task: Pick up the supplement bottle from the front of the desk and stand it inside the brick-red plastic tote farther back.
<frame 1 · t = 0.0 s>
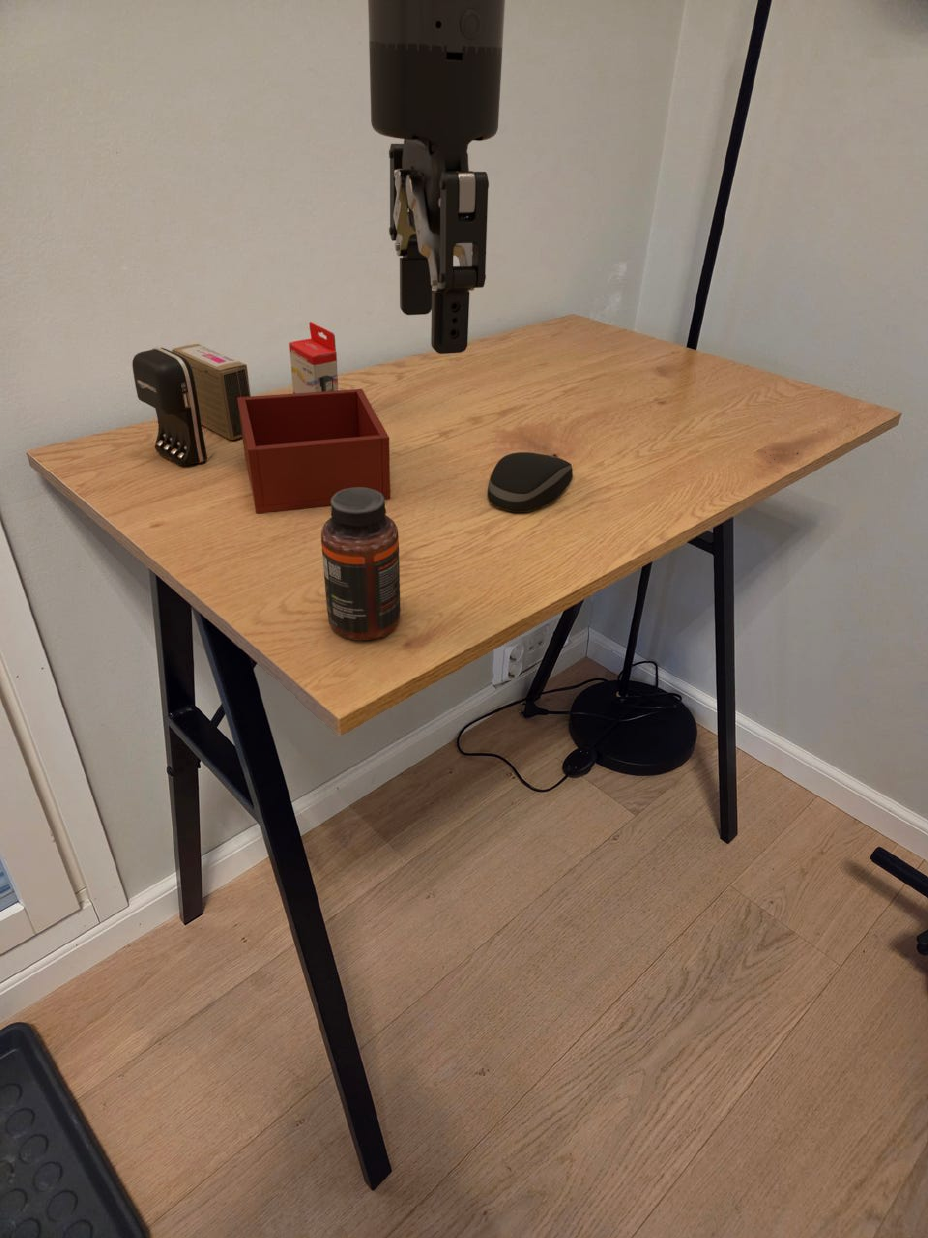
hand: (431, 331, 54), 23 cm above the table, tool pointing down, fingers open, 8 cm apart
tote: (314, 476, 85), on the table
supplement bottle: (364, 623, 65), on the table
battery charger: (177, 458, 88), on the table
computer mouse: (530, 490, 85), on the table
ink box 2: (219, 426, 95), on the table
ink box: (317, 412, 100), on the table
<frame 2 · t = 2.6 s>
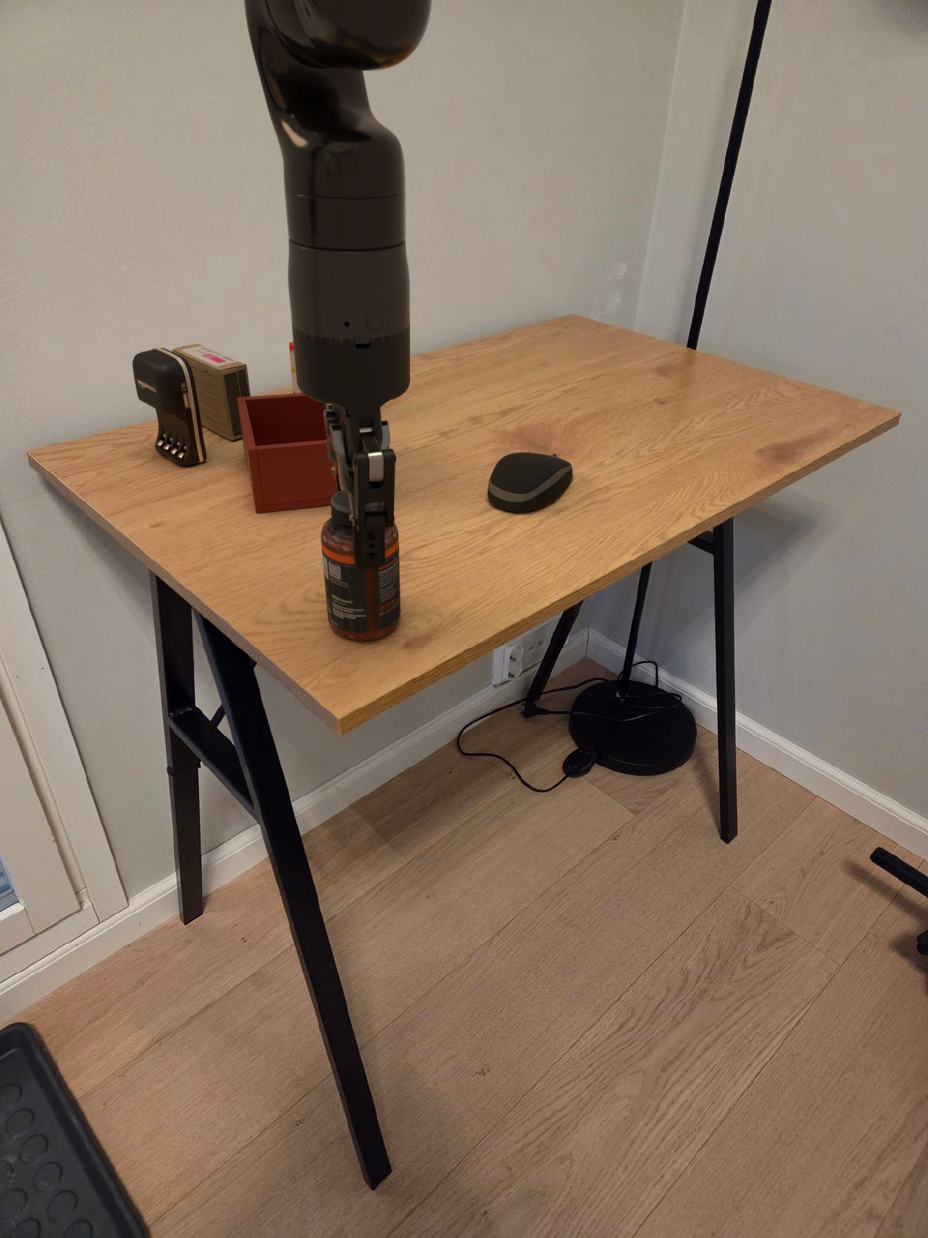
hand: (361, 542, 60), 8 cm above the table, tool pointing down, fingers closed on supplement bottle, 6 cm apart
supplement bottle: (364, 623, 65), on the table, touching gripper
everything else where it was.
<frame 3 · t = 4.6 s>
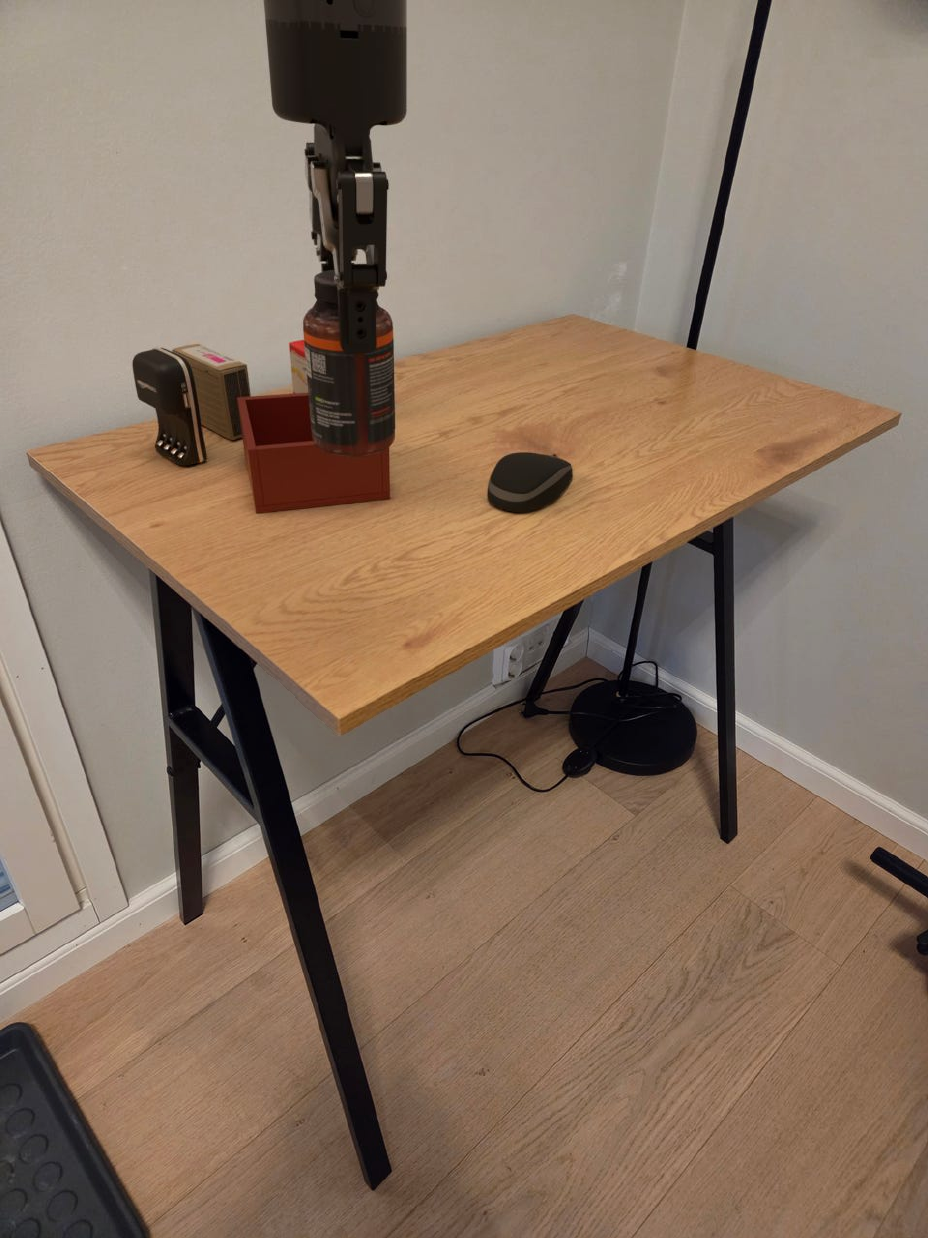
hand: (349, 334, 52), 23 cm above the table, tool pointing down, fingers closed on supplement bottle, 6 cm apart
supplement bottle: (354, 445, 57), point 15 cm above the table, touching gripper
everything else where it was.
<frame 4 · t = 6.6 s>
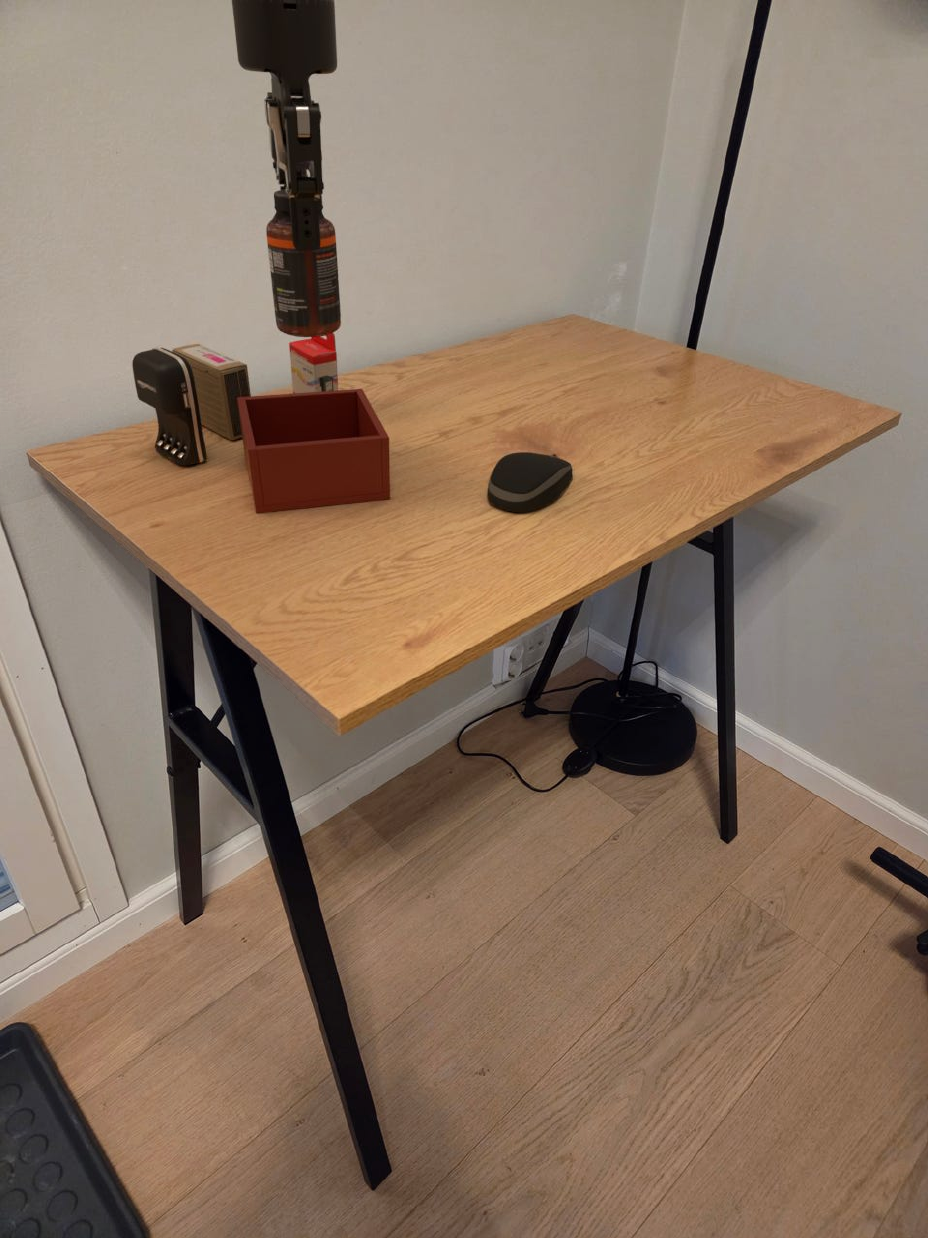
hand: (301, 240, 68), 24 cm above the table, tool pointing down, fingers closed on supplement bottle, 6 cm apart
supplement bottle: (309, 331, 73), point 16 cm above the table, touching gripper
everything else where it was.
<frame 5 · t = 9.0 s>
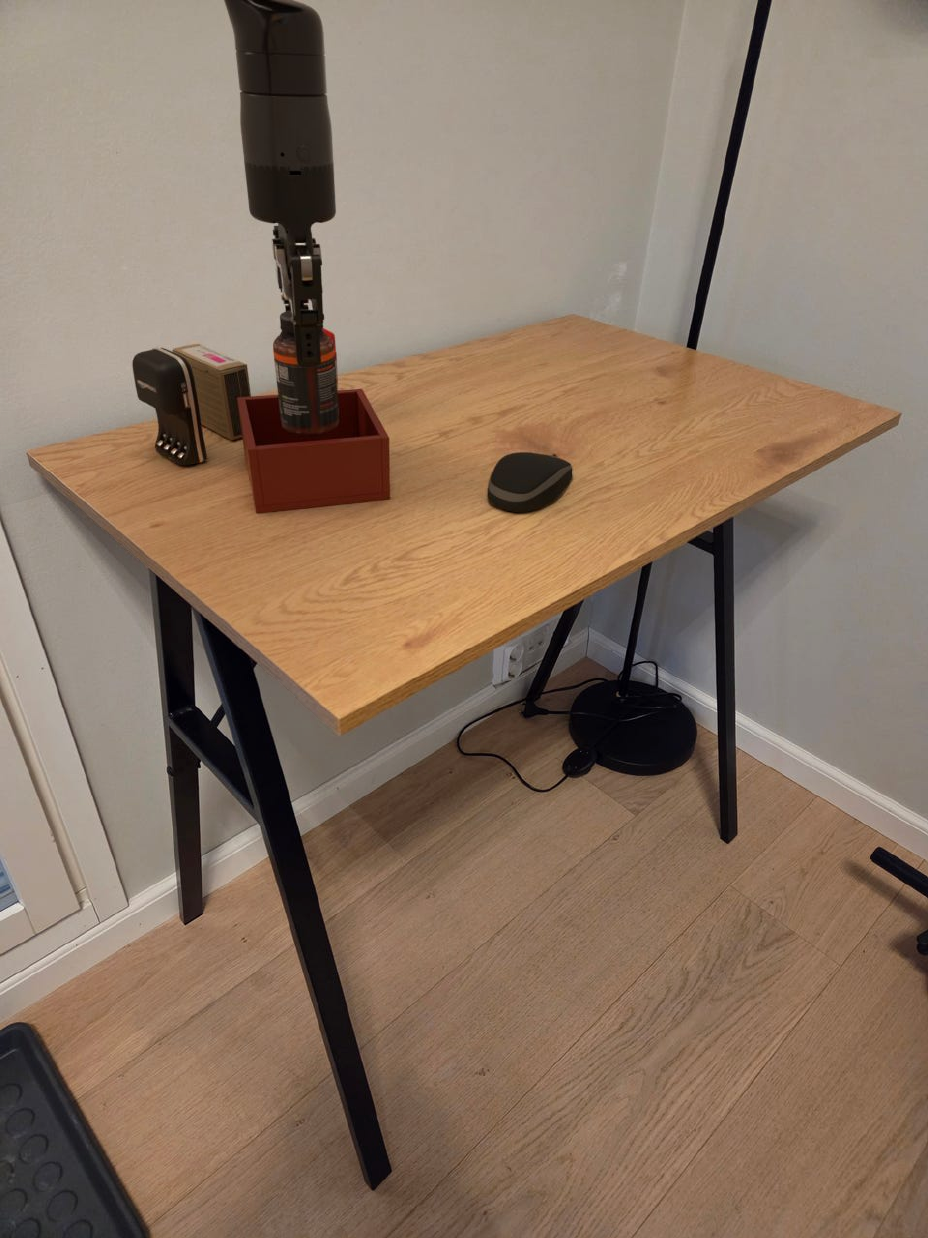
hand: (304, 353, 77), 13 cm above the table, tool pointing down, fingers closed on supplement bottle, 6 cm apart
supplement bottle: (310, 428, 82), point 6 cm above the table, touching gripper
everything else where it was.
when the fingers open (8 cm above the table, at t = 10.8 s): supplement bottle stays where it is, resting on tote.
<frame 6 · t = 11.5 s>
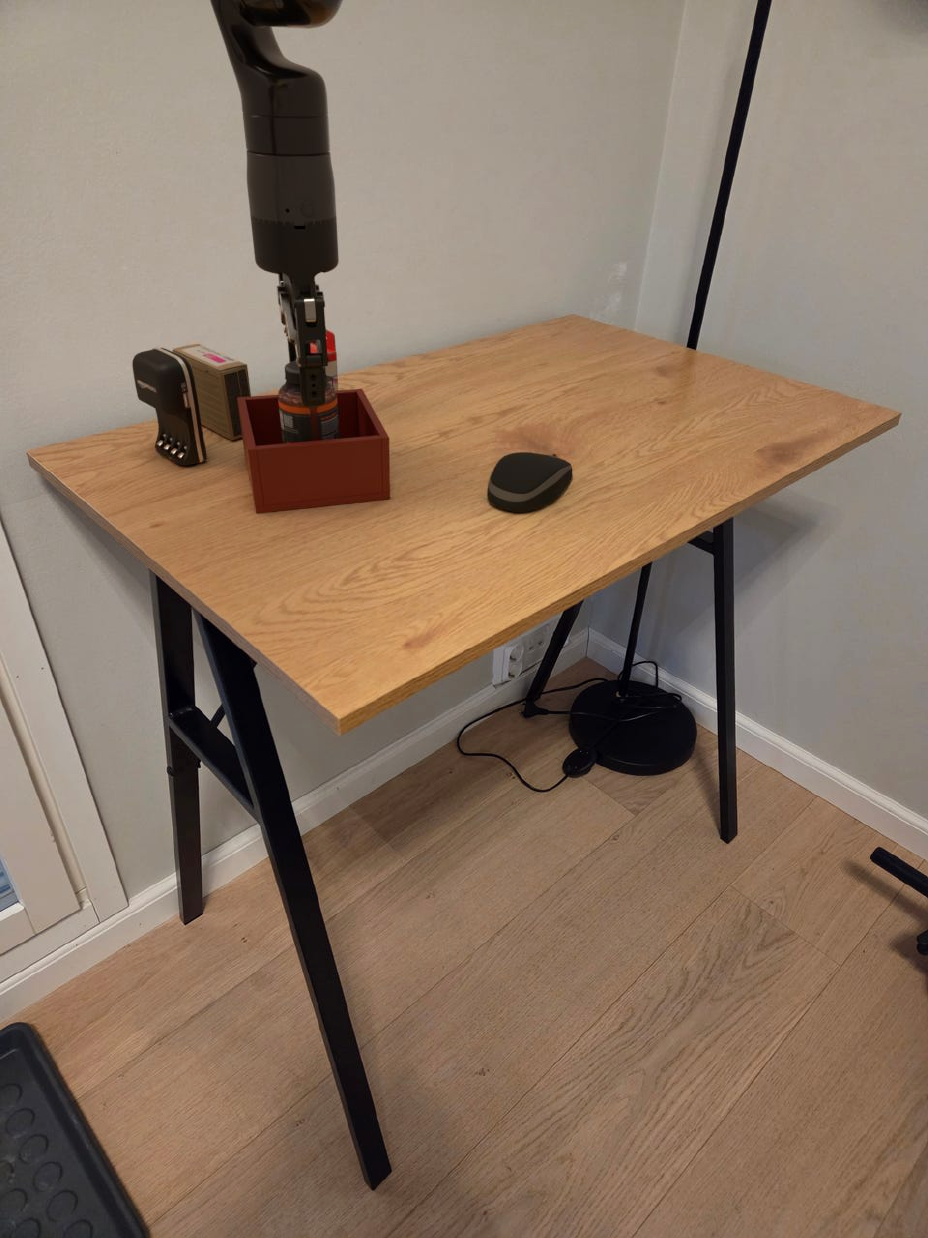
hand: (307, 388, 79), 10 cm above the table, tool pointing down, fingers open, 8 cm apart
supplement bottle: (314, 471, 85), point 1 cm above the table, touching tote
everything else where it was.
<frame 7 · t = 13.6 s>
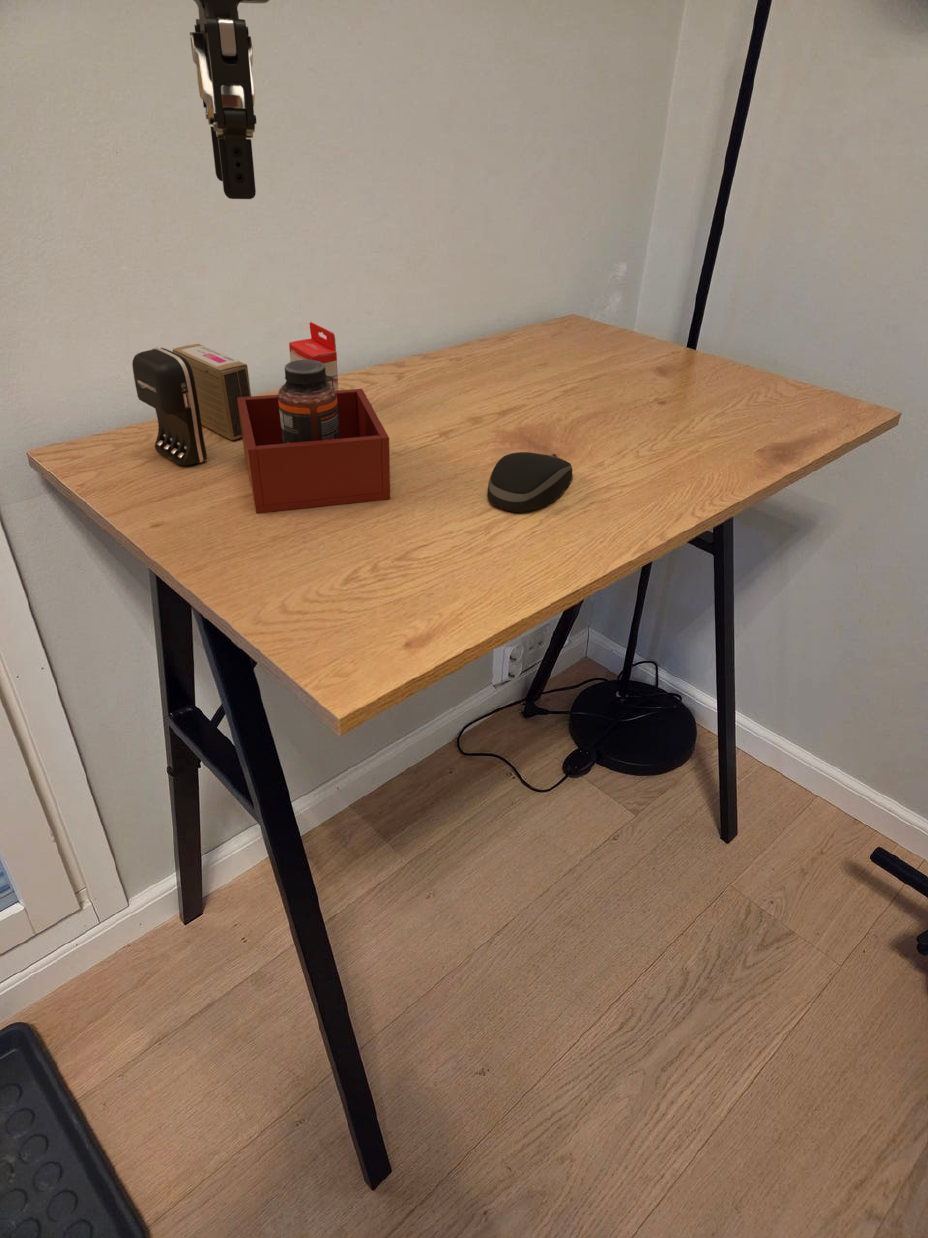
hand: (235, 189, 60), 29 cm above the table, tool pointing down, fingers open, 8 cm apart
nothing on the table moved.
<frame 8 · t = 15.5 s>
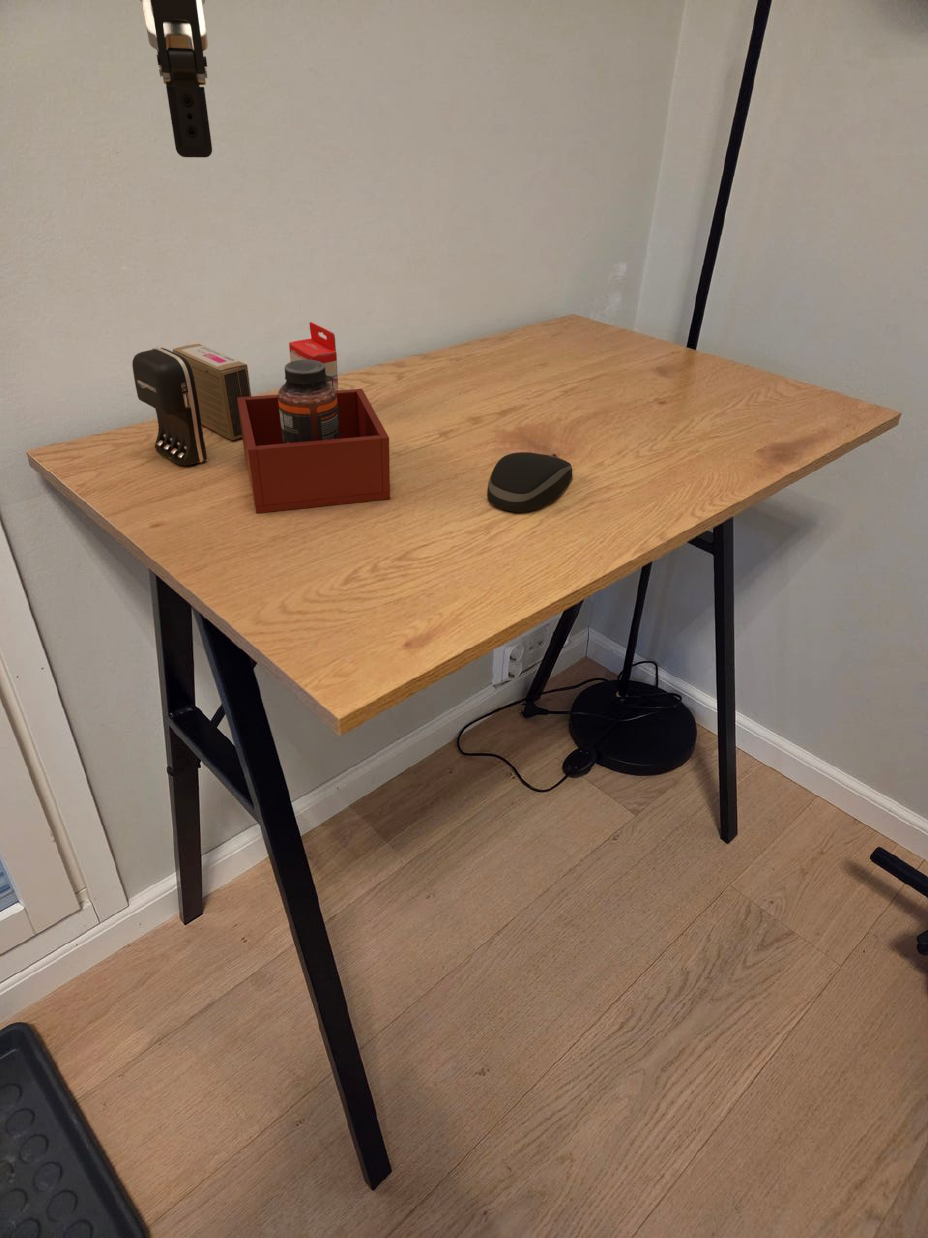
hand: (192, 147, 53), 32 cm above the table, tool pointing down, fingers open, 8 cm apart
nothing on the table moved.
at the end: supplement bottle inside the target area in the tote (0.1 cm from its centre), point 0.6 cm above the tote's base; supplement bottle tilted 0°; the gripper is holding nothing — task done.
